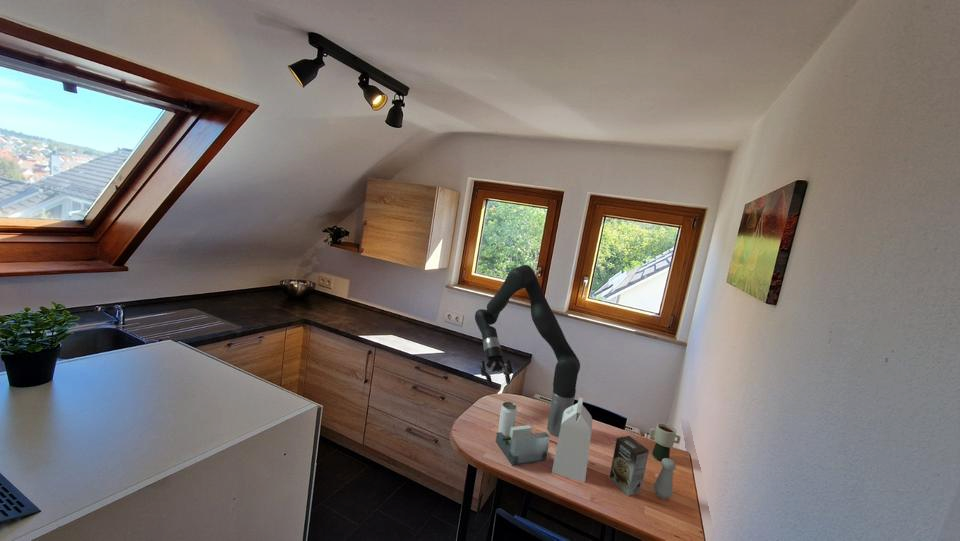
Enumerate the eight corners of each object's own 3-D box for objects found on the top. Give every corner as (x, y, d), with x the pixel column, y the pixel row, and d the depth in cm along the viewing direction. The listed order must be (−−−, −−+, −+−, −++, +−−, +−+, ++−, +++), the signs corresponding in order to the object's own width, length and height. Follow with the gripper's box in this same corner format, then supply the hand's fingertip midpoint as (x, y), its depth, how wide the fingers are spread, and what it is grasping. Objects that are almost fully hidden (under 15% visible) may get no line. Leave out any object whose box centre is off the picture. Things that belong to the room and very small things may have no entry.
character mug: (674, 457, 156) (680, 427, 154) (676, 467, 150) (682, 436, 148) (645, 448, 160) (651, 419, 158) (645, 458, 154) (651, 427, 152)
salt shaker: (649, 488, 136) (656, 454, 134) (665, 489, 136) (672, 455, 134) (658, 501, 130) (665, 465, 128) (674, 502, 130) (682, 466, 128)
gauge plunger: (526, 443, 152) (529, 425, 151) (529, 446, 150) (531, 428, 149) (500, 446, 148) (502, 428, 147) (502, 449, 146) (504, 431, 145)
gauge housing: (527, 437, 158) (530, 415, 156) (546, 461, 144) (549, 436, 143) (495, 441, 153) (498, 418, 151) (512, 466, 139) (515, 441, 138)
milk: (584, 482, 135) (597, 412, 131) (551, 472, 138) (562, 404, 134) (586, 462, 146) (597, 398, 142) (555, 453, 150) (565, 390, 146)
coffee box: (608, 479, 138) (615, 437, 136) (621, 475, 141) (628, 434, 139) (628, 496, 130) (636, 453, 128) (641, 492, 133) (650, 449, 131)
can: (512, 438, 156) (516, 410, 154) (496, 434, 157) (500, 407, 156) (514, 430, 163) (518, 403, 161) (499, 426, 164) (502, 400, 162)
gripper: (480, 346, 171) (487, 382, 163) (509, 345, 177) (517, 380, 168) (475, 352, 177) (481, 388, 168) (503, 352, 182) (510, 386, 174)
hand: (499, 384), depth 168 cm, fingers open, 8 cm apart
